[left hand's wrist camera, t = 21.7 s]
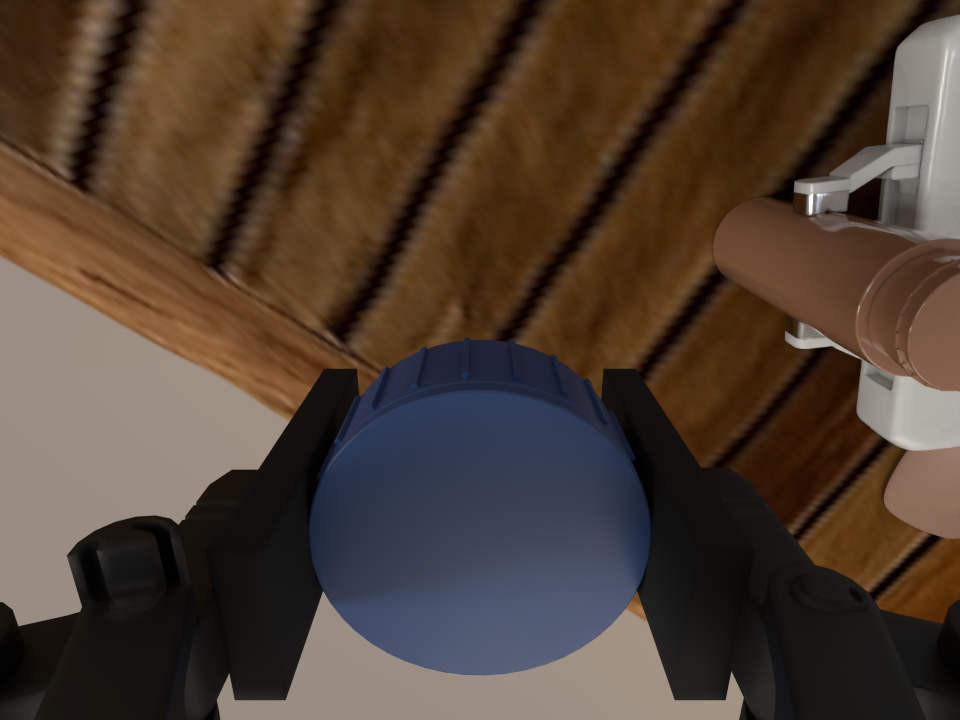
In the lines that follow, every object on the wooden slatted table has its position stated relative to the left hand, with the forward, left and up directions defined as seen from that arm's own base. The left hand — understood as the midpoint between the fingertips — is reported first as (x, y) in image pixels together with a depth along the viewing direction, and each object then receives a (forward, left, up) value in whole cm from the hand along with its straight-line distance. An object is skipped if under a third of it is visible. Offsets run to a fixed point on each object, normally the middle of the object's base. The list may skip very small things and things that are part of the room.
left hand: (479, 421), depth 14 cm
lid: (0, 0, +4) cm, 4 cm away
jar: (-8, +14, -22) cm, 27 cm away
